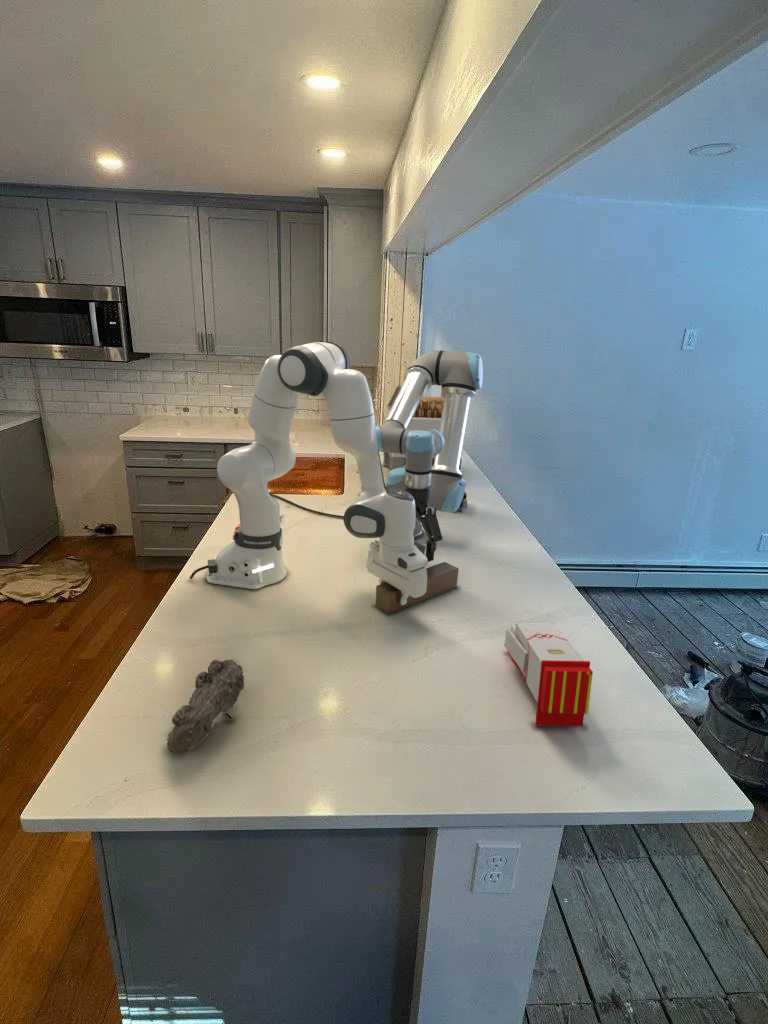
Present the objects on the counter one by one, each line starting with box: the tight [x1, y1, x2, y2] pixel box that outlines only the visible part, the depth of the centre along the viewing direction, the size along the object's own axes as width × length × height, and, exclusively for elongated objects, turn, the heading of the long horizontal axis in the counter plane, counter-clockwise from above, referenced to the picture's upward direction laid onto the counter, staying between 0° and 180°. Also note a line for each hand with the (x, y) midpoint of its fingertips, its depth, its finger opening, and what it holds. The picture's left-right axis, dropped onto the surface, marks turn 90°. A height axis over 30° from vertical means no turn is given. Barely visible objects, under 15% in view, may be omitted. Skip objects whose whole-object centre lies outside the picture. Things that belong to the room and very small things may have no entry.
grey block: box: [414, 540, 426, 556], centre depth 170 cm, size 5×5×9 cm
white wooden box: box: [383, 384, 463, 473], centre depth 268 cm, size 34×33×41 cm
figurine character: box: [457, 491, 468, 512], centre depth 228 cm, size 7×8×15 cm
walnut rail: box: [374, 561, 459, 615], centre depth 156 cm, size 6×26×6 cm, turn 131°
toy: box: [503, 622, 594, 727], centre depth 121 cm, size 12×13×30 cm
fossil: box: [166, 658, 245, 754], centre depth 106 cm, size 22×10×15 cm
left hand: (393, 598), depth 151 cm, fingers closed on walnut rail, 5 cm apart
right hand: (413, 553), depth 170 cm, fingers open, 13 cm apart
